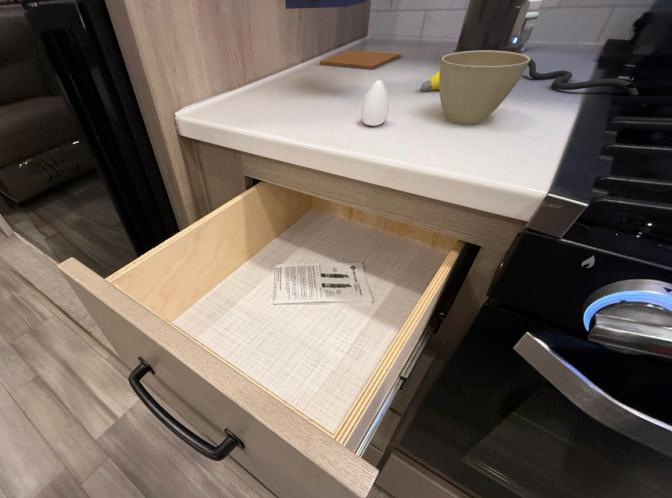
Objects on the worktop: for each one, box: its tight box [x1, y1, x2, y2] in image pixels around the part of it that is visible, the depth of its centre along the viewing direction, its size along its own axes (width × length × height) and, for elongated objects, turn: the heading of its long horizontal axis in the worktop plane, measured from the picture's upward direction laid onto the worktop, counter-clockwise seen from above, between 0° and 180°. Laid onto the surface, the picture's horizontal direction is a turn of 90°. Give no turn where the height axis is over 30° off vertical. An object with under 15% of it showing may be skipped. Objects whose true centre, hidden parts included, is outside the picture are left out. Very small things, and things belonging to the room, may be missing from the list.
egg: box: [360, 79, 390, 127], centre depth 45 cm, size 4×4×6 cm
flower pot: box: [439, 50, 531, 126], centre depth 43 cm, size 10×10×7 cm
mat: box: [319, 50, 402, 70], centre depth 76 cm, size 14×13×1 cm
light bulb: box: [420, 69, 440, 93], centre depth 55 cm, size 3×6×4 cm, turn 95°
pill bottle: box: [516, 0, 543, 53], centre depth 69 cm, size 5×5×8 cm
